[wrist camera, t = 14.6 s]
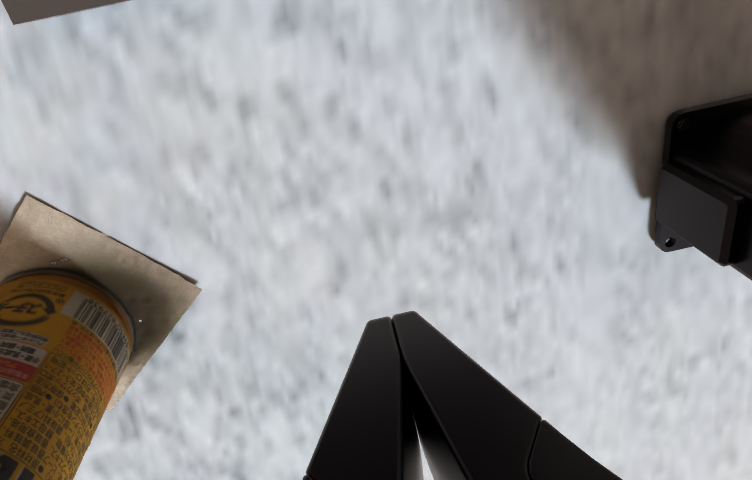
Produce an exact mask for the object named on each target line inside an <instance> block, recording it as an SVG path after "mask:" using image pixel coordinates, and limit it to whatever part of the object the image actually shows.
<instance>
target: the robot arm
mask: <svg viewBox="0 0 752 480" xmlns="http://www.w3.org/2000/svg"><path fill="white" fill-rule="evenodd" d="M683 119H684V122H683V124H682V125H681V126H680V127H679V128H678V124H679V122H680V121H681V120H683ZM669 238H670V240H669V241H668V242H666V240H667V239H669ZM665 242H666V243H665ZM655 245H656V246H657V247H658V248H660V249H661V250H662V251H664V252H670V251H675V250H679V249H683V248H688V247H692V246H694V247H695V248H697V249H698V250H700V251H701V252H702V253H704V254H705V255H707V256H708V257H709V258H711V259H712V260H714V261H715V262H716V263H718V264H719V265H721V266H723V267H724V266H728V265H730V266H732V267H733V268H734V269H736V270H737V271H739V272H740V273H742V274H743V275H745V276H746V277H747V278H749V279H750V280H752V94H749V95H745V96H740V97H736V98H731V99H727V100H722V101H718V102H713V103H709V104H704V105H700V106H695V107H691V108H686V109H682V110H678V111H676V112H674V113H673V114H671V115H670V116H669V118H668V119H667V122H666V127H665V138H664V148H663V158H662V166H661V169H660V175H659V186H658V196H657V207H656V231H655ZM392 322H393V323H392ZM415 423H416V424H415ZM416 427H417V429H416ZM417 431H418V434H417ZM418 435H419V438H420V442H421V445H422V448H423V451H424V454H425V457H426V459H427V462H428V465H429V467H430V470H431V473H432V475H433V478H434V480H622V479H621V478H620V477H618V476H617V475H615V474H614V473H612V472H611V471H610V470H608V469H607V468H605V467H604V466H602V465H601V464H600V463H598V462H597V461H595V460H594V459H593V458H591V457H590V456H589V455H588V454H586V453H585V452H584V451H582V450H581V449H580V448H579V447H577V446H576V445H575V444H574V443H572V442H571V441H570V440H569V439H567V438H566V437H565V436H563V435H562V434H561V433H560V432H559V431H558V430H556V429H555V428H554V427H553V426H552V425H550V424H549V423H548V422H547V421H546V420H542V418H541V417H540V416H539V415H538V414H537V413H536V412H535V411H533V410H532V409H531V408H530V407H529V406H527V405H526V404H525V403H524V402H523V401H522V400H520V399H519V398H518V397H517V396H516V395H514V394H513V393H512V392H511V391H510V390H508V389H507V388H506V387H505V386H504V385H502V384H501V383H500V382H499V381H498V380H496V379H495V378H494V377H493V376H492V375H490V374H489V373H488V372H487V371H486V370H484V369H483V368H482V367H481V366H480V365H479V364H477V363H476V362H475V361H474V360H473V359H471V358H470V357H469V356H468V355H467V354H465V353H464V352H463V351H462V350H461V349H459V348H458V347H457V346H456V345H455V344H453V343H452V342H451V341H450V340H449V339H447V338H446V337H445V336H444V335H443V334H441V333H440V332H439V331H438V330H437V329H436V328H434V327H433V326H432V325H431V324H430V323H428V322H427V321H426V320H425V319H424V318H422V317H421V316H420V315H419V314H418V313H416V312H415V311H409V312H405V313H401V314H396V315H394V316H393V317H392V319H391V318H390V317H383V318H379V319H374V320H370V321H369V322H368V323H367V324H366V327H365V329H364V332H363V334H362V336H361V339H360V341H359V344H358V346H357V349H356V351H355V353H354V356H353V358H352V361H351V363H350V366H349V368H348V371H347V373H346V375H345V378H344V380H343V383H342V385H341V388H340V390H339V393H338V395H337V397H336V400H335V402H334V405H333V407H332V410H331V412H330V414H329V417H328V419H327V422H326V424H325V427H324V429H323V432H322V434H321V436H320V439H319V441H318V444H317V446H316V449H315V451H314V454H313V456H312V458H311V461H310V463H309V466H308V468H307V471H306V474H307V475H305V476H304V477H303V480H424V479H423V470H422V460H421V452H420V445H419V439H418Z"/></svg>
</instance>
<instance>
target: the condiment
mask: <svg viewBox="0 0 752 480" xmlns="http://www.w3.org/2000/svg"><path fill="white" fill-rule="evenodd" d="M62 258H66V259H68V261H66V262H60V261H59V259H62ZM51 261H55V262H57V265H51V264H50V262H51ZM201 290H202V289H200V288H199V287H197V286H195V285H194V284H192V283H190V282H188V281H186V280H184V279H183V278H182V277H181V276H180V275H177V274H175V273H173V272H171V271H170V270H168V269H166V268H165V267H163V266H161V265H159V264H157V263H155V262H153V261H151V260H150V259H148V258H147V257H145V256H143V255H141V254H140V253H138V252H136V251H134V250H132V249H130V248H128V247H126V246H124V245H122V244H120V243H118V242H116V241H115V240H113V239H111V238H110V237H109V236H107V235H106V234H103V233H100V232H98V231H95V230H93V229H91V228H89V227H87V226H85V225H83V224H81V223H79V222H77V221H76V220H74V219H73V218H71V217H69V216H67V215H66V214H64V213H62V212H59V211H56V210H54V209H52V208H50V207H48V206H46V205H45V204H43V203H41V202H39V201H37V200H35V199H33V198H31V197H29V196H28V195H26V197H25V199H24V201H23V202H22V204H21V206H20V208H19V209H18V211H17V213H16V215H15V216H14V218H13V221H12V222H11V224H10V226H9V228H8V229H7V231H6V232H5V234H4V236H3V238H2V241H1V243H0V480H73V478H74V477H75V475H76V472H77V470H78V467H79V465H80V463H81V461H82V459H83V456H84V454H85V452H86V451H87V448H88V447H89V445H90V443H91V440H92V438H93V435H94V433H95V431H96V429H97V426H98V424H99V422H100V420H101V418H102V416H103V414H104V412H105V410H108V411H111V410H112V409H113V407H114V406H115V405H116V403H117V402H118V401H119V399H120V398H121V396H122V395H123V394H124V392H125V391H126V390H127V388H128V387H129V386H130V384H131V383H132V382H133V380H134V379H135V378H136V376H137V375H138V373H139V372H140V371H141V369H142V368H143V367H144V366H145V364H146V363H147V361H148V360H149V359H150V358H151V356H152V355H153V354H154V353H155V351H156V350H157V349H158V347H159V346H160V345H161V344H162V342H163V341H164V339H165V338H166V337H167V335H168V334H169V333H170V331H171V330H172V329H173V327H174V326H175V325H176V323H177V322H178V321H179V320H180V318H181V317H182V315H183V314H184V313H185V312H186V310H187V309H188V308H189V307H190V305H191V304H192V303H193V301H194V300H195V298H196V297H197V296H198V294H199V293H200V292H201ZM139 320H142V322H139Z"/></svg>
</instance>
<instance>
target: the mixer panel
mask: <svg viewBox="0 0 752 480" xmlns="http://www.w3.org/2000/svg"><path fill="white" fill-rule="evenodd" d="M1 1H2V3H3V5H4V7H5V9H6V11H7V13H8V15H9V17H10V19H11V21H12V23H13V25H15V24H21V23H26V22H31V21H37V20H41V19H46V18H51V17H56V16H60V15H65V14H70V13H74V12H79V11H84V10H88V9H93V8H98V7H103V6H107V5H112V4H117V3H121V2H126V1H131V0H1Z"/></svg>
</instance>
